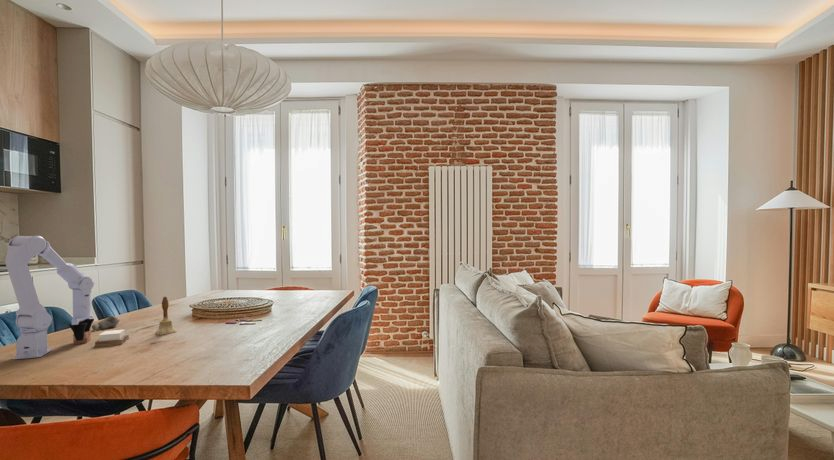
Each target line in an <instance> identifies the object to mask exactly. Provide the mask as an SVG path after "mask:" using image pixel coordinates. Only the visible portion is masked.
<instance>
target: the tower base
mask: <svg viewBox="0 0 834 460" xmlns="http://www.w3.org/2000/svg"><path fill="white" fill-rule="evenodd" d="M129 336H130V335H129V334H125V336H123V337H122V338H121V339H119V340H108V341H99V339H97V340H96V341H94V347H95V348H98V347H99V346H100V347H110V346H120V345H124V344H125V343H126V342H127V341H128V340H130V339H129V338H130V337H129Z"/></svg>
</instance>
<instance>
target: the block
mask: <svg viewBox="0 0 834 460" xmlns="http://www.w3.org/2000/svg"><path fill="white" fill-rule="evenodd" d="M91 335H92V331H91V330H90V331H85V332H84V338H83V340H80V341H76V339H75V336H74V333H73V334H72V343H73V345H81V344H80V343H82V344H87V342H88V343H90V340H91V341H92V336H91Z"/></svg>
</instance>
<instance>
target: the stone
mask: <svg viewBox="0 0 834 460" xmlns="http://www.w3.org/2000/svg"><path fill="white" fill-rule="evenodd" d="M119 322H120V319H119V318H118V317H116V316H113V315H109V316H108V317H107V318H104V319H102V320H101V321H99V322H98V323H95V324H92V325H91V329H92V330H93V331H94V330H96V331H98V330H106V328H107V329H110V328H115V327H117V325H118V324H119Z"/></svg>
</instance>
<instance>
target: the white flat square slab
mask: <svg viewBox="0 0 834 460" xmlns="http://www.w3.org/2000/svg"><path fill="white" fill-rule="evenodd" d="M125 335H126V333H125V329H115V330H114V329H113V330H104V331H103V332H101V333H100V334H98V340H99V341H108V340H119V339H121V338H122V337H123V336H125Z"/></svg>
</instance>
